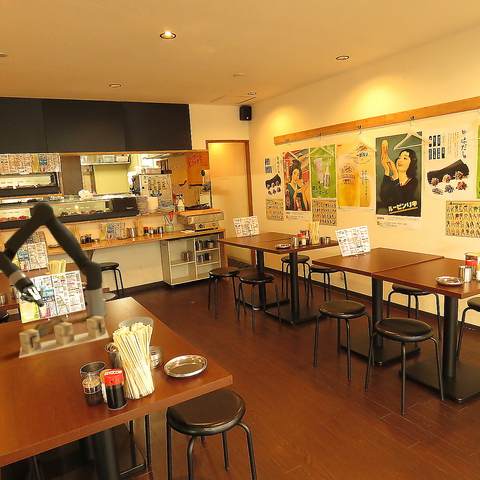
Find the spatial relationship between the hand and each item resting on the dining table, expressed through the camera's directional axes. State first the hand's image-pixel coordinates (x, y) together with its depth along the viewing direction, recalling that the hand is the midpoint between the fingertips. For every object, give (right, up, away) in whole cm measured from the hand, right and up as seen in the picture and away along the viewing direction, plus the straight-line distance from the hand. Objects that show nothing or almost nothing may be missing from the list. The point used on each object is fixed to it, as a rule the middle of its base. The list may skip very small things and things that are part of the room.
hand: (42, 305), depth 196 cm
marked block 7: (-1, -20, -8) cm, 21 cm away
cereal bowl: (+47, -16, +3) cm, 49 cm away
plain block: (+12, -18, -1) cm, 21 cm away
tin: (-2, -18, +12) cm, 22 cm away
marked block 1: (+25, -16, +5) cm, 30 cm away
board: (+12, -19, -1) cm, 22 cm away
